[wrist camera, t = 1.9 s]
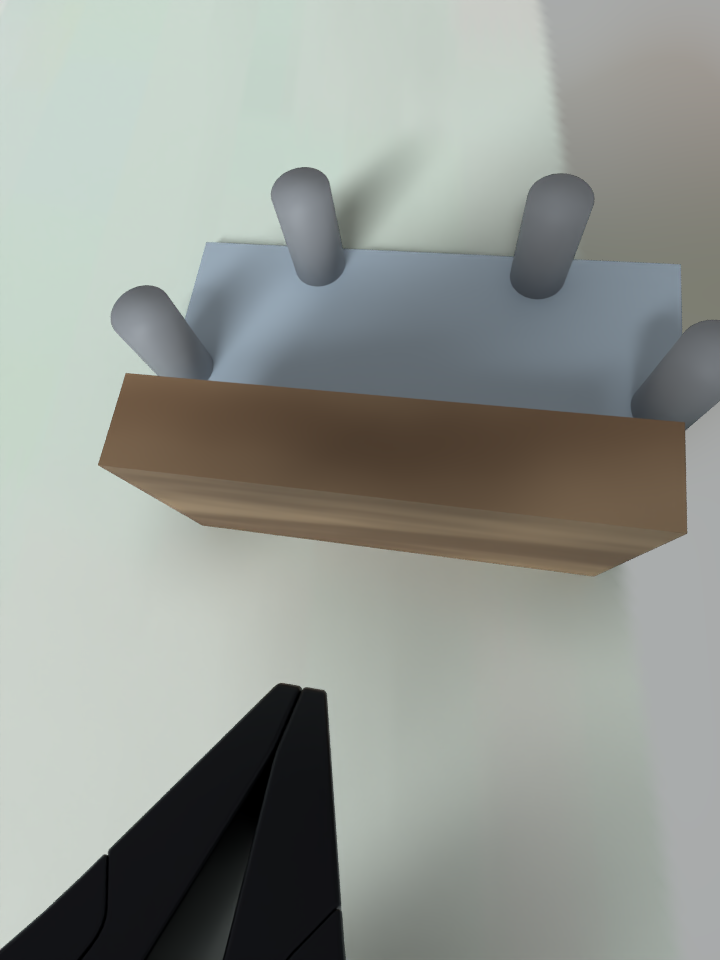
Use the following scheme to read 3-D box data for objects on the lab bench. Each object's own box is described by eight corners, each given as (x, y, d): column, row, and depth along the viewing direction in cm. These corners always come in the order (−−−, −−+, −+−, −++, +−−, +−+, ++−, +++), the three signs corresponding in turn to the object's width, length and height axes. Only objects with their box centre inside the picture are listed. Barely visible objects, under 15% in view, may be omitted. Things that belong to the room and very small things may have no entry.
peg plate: (688, 487, 22) (763, 440, 17) (152, 431, 25) (89, 379, 20) (684, 270, 24) (746, 178, 20) (204, 246, 28) (159, 163, 23)
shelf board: (592, 576, 21) (687, 533, 14) (203, 525, 24) (97, 465, 16) (595, 502, 22) (684, 422, 14) (218, 460, 24) (125, 373, 17)
